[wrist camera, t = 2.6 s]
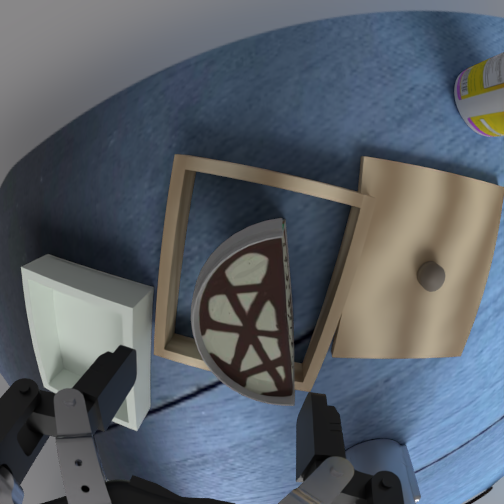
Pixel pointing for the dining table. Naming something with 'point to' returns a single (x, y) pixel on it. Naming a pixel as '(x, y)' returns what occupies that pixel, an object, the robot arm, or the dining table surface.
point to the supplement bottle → (482, 96)
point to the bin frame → (173, 248)
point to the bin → (88, 326)
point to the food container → (248, 314)
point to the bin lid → (419, 263)
